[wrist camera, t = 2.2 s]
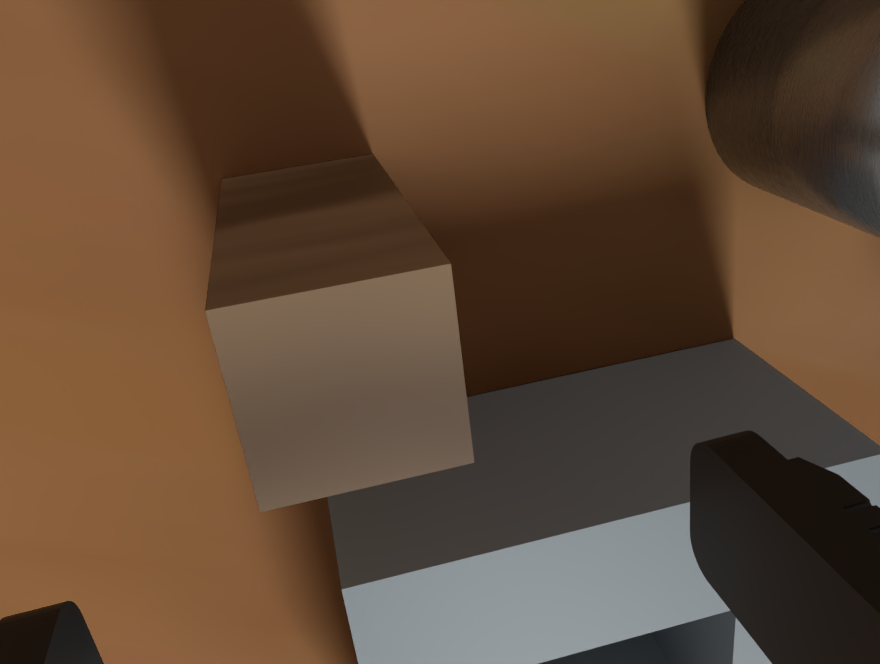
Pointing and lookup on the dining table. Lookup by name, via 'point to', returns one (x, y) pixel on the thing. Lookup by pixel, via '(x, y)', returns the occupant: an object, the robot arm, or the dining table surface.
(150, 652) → the dining table surface
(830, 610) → the robot arm
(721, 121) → the round peg
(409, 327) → the square peg
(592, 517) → the socket block
